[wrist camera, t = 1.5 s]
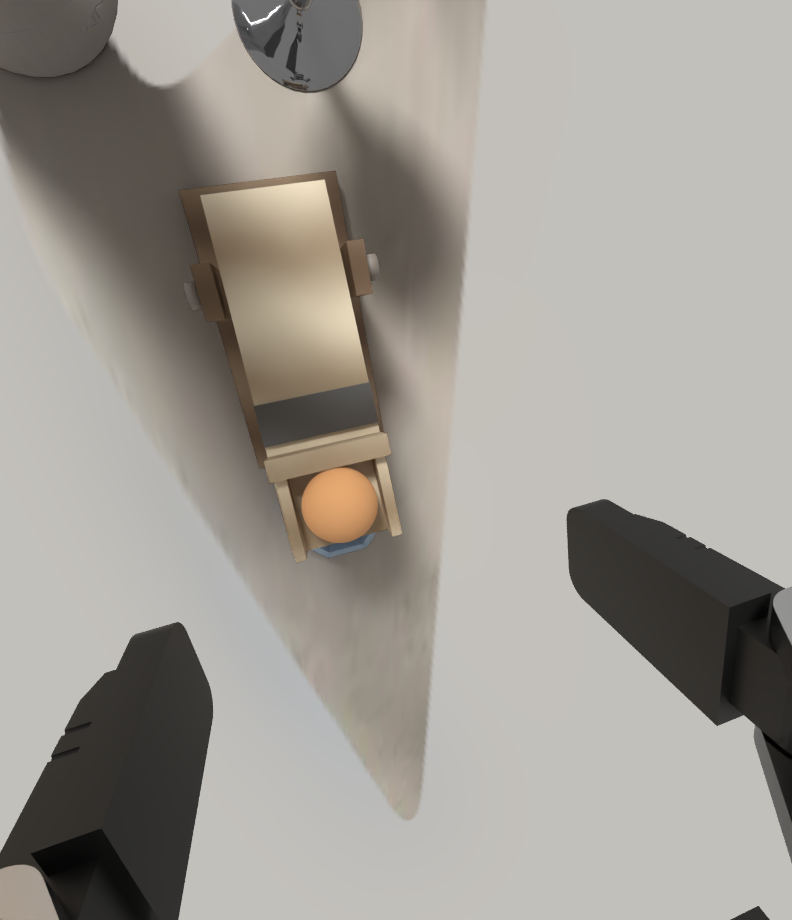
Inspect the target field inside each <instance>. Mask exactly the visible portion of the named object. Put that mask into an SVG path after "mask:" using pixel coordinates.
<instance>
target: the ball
mask: <svg viewBox="0 0 792 920" xmlns="http://www.w3.org/2000/svg"><path fill="white" fill-rule="evenodd" d="M377 510H378V499H377V494H376V491H375V489H374V487H373V485H372V483H371V482H370V481H369V480H368V478H367V477H366V476H364V475H363V474H362V473H360V472H359V471H356V470H354V469H351V468H347V467H337V468H333V469H329V470H324V471H322V472H320V473H319V474H317V475H316V476H315V477H313V479H312V480H311V481H310V482H309V483H308V485H307V487H306V489H305V491H304V493H303V497H302V514H303V517H304V520H305V522H306V524H307V526H308V527H309V528H310V530H311V531H312V532H313V533H314V534H315V535H317V536H318V537H320V538H321V539H323V540H326V541H329V542H333V543H345V542H350V541H353V540H355V539H357V538H359V537H361V536H362V535H363V534H365V533H366V532H367V531H368V530H369V529H370V527H371V526H372V524H373V522H374V520H375V518H376V515H377Z"/></svg>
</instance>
